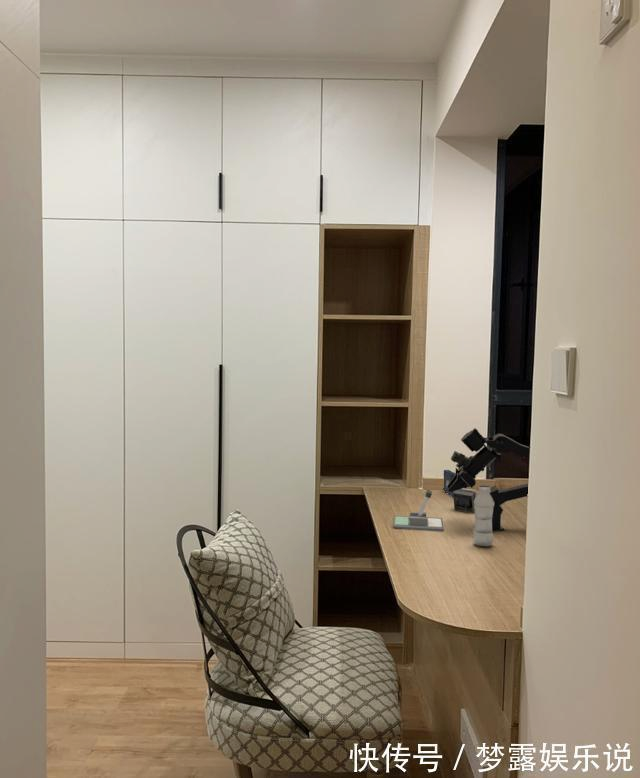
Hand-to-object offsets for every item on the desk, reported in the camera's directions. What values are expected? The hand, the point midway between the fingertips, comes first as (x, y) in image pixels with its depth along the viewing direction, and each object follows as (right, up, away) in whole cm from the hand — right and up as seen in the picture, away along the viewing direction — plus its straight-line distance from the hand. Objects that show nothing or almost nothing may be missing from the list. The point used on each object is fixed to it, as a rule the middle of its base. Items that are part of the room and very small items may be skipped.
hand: (448, 489), depth 227 cm
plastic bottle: (+7, -16, -20) cm, 26 cm away
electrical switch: (+11, -12, +21) cm, 27 cm away
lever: (-11, -11, +2) cm, 16 cm away
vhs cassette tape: (+12, -11, +44) cm, 47 cm away
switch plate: (-11, -13, +3) cm, 17 cm away
